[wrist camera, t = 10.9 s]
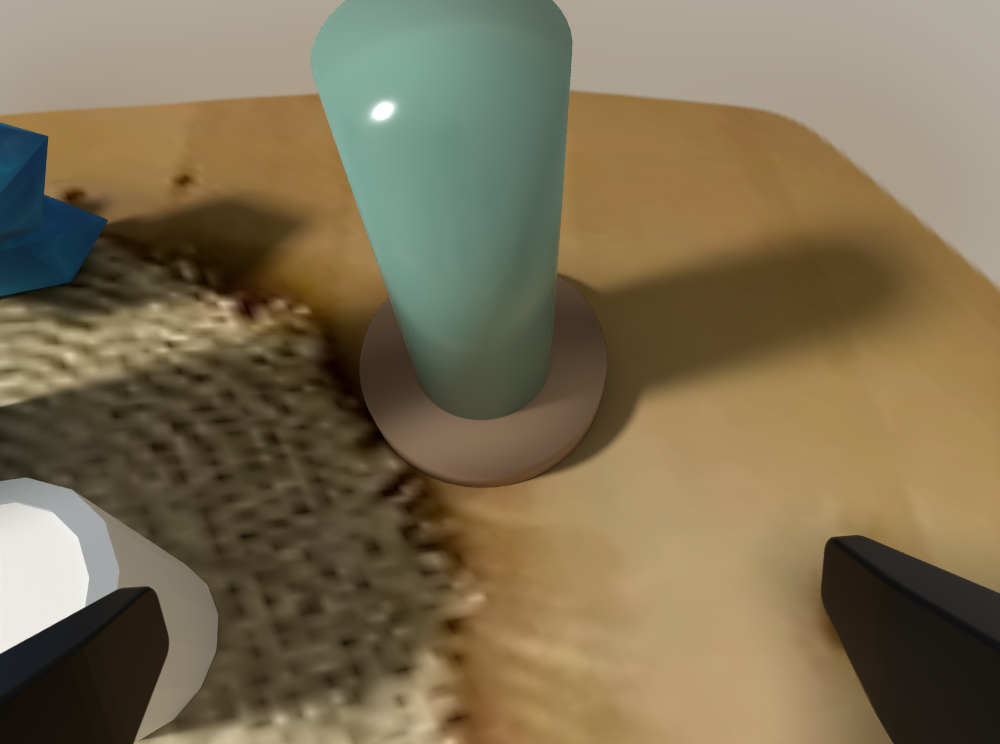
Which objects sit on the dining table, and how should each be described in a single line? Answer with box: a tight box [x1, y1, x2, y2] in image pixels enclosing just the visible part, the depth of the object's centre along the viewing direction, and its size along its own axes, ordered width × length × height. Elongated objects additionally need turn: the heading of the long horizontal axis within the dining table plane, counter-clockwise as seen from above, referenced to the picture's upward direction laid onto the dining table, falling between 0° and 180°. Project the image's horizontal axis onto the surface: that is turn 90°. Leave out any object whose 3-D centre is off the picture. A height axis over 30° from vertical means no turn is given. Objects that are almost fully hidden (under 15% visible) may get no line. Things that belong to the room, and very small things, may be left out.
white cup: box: [0, 478, 218, 742], centre depth 18 cm, size 7×7×7 cm
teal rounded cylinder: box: [311, 0, 572, 420], centre depth 18 cm, size 5×5×12 cm
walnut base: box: [359, 275, 607, 488], centre depth 24 cm, size 9×9×2 cm
